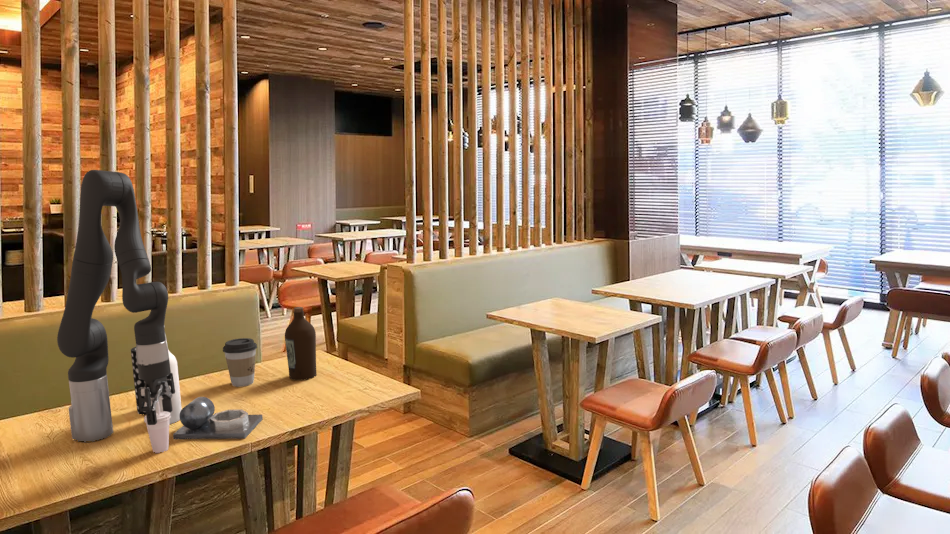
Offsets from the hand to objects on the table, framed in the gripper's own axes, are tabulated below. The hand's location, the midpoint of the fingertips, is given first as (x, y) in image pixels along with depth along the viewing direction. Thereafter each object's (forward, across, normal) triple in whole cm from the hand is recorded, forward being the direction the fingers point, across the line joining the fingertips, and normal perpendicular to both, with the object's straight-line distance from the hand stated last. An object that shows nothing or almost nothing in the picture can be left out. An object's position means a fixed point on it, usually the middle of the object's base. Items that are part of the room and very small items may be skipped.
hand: (160, 418), depth 175 cm
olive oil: (+9, -61, +20) cm, 65 cm away
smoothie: (+9, 0, -1) cm, 9 cm away
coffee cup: (+9, -55, +1) cm, 55 cm away
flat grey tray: (+9, -13, +10) cm, 19 cm away
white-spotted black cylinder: (+8, -30, -18) cm, 36 cm away
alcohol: (+9, -21, -9) cm, 24 cm away
